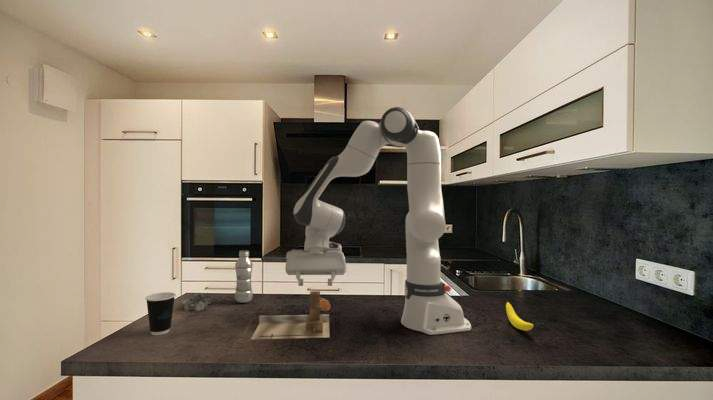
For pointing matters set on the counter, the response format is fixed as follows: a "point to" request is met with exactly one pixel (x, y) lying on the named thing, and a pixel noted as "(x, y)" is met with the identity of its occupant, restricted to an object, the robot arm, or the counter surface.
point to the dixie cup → (160, 312)
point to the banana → (517, 319)
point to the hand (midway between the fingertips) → (315, 285)
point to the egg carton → (197, 302)
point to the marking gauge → (314, 314)
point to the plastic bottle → (243, 277)
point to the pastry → (324, 304)
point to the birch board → (287, 327)
